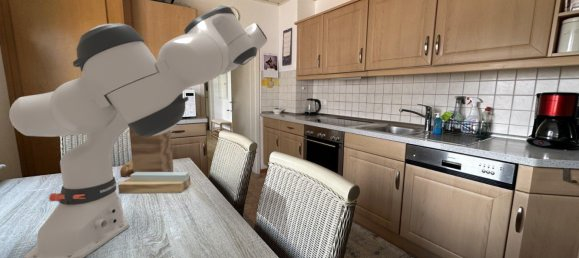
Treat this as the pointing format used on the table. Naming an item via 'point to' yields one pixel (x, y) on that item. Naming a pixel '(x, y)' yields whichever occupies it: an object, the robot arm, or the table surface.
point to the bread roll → (127, 169)
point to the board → (153, 186)
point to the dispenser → (151, 152)
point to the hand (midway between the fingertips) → (201, 79)
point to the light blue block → (159, 176)
